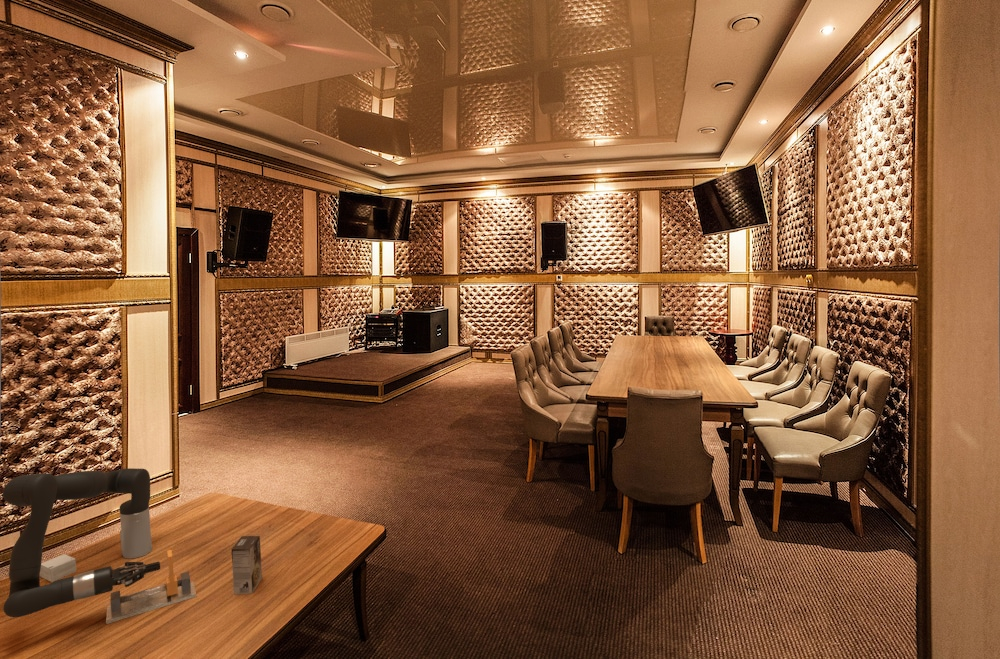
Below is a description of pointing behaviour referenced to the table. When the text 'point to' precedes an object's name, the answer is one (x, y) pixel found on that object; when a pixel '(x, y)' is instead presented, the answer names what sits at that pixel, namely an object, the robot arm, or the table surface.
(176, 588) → the orange wooden plank
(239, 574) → the coffee box
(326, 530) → the table surface
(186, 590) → the pipe stand
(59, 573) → the small box
